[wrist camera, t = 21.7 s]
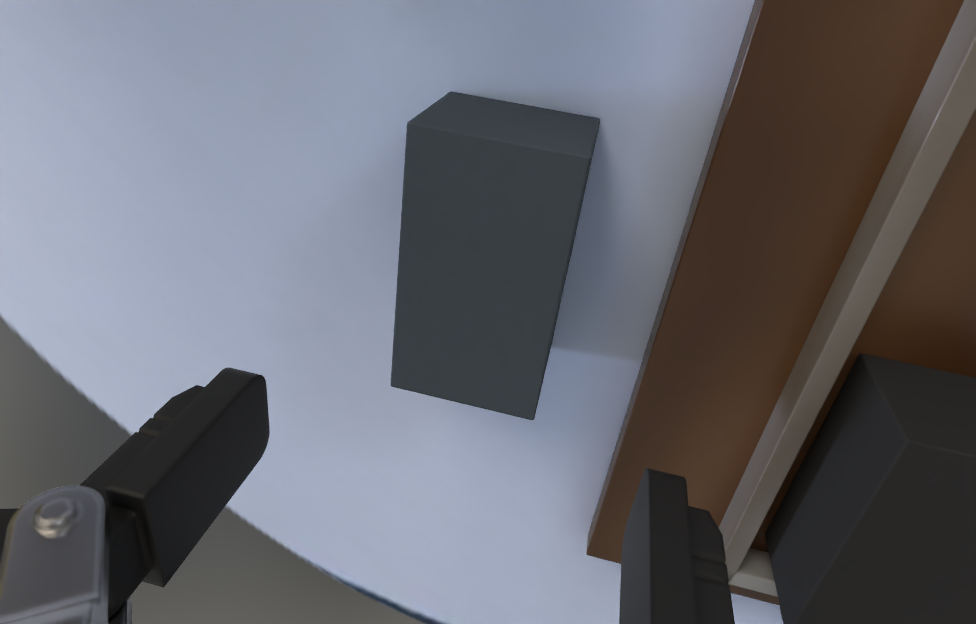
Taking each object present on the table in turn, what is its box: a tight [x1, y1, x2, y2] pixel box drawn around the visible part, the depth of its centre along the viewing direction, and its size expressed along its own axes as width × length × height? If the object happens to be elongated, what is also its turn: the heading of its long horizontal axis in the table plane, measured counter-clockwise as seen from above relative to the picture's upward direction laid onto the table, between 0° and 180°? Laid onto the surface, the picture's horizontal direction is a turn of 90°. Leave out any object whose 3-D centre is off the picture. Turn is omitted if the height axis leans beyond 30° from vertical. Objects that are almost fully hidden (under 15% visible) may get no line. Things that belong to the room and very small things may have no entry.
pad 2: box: [765, 353, 976, 624], centre depth 21 cm, size 5×9×4 cm, turn 172°
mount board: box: [586, 0, 976, 605], centre depth 20 cm, size 18×26×3 cm
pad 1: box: [391, 92, 600, 420], centre depth 21 cm, size 5×9×4 cm, turn 172°
